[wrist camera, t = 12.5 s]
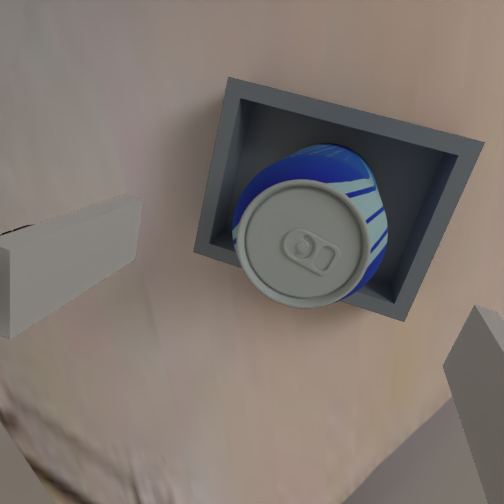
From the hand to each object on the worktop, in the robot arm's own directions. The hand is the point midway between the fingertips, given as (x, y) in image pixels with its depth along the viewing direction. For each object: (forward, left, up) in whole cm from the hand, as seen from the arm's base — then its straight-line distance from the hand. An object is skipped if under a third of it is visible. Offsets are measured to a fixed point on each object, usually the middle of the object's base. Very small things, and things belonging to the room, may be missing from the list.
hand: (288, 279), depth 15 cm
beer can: (0, 0, -20) cm, 20 cm away
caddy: (0, 0, -21) cm, 21 cm away
